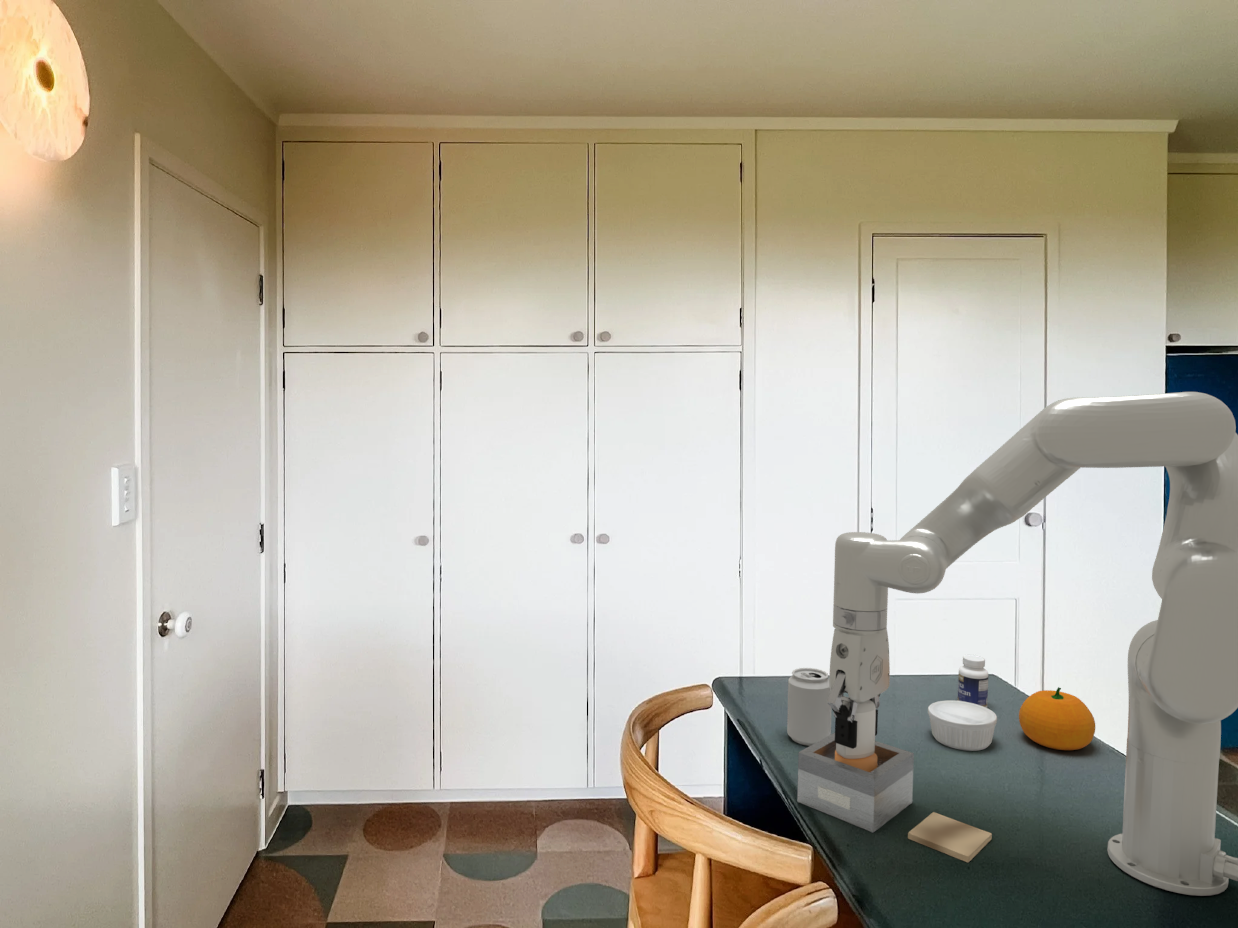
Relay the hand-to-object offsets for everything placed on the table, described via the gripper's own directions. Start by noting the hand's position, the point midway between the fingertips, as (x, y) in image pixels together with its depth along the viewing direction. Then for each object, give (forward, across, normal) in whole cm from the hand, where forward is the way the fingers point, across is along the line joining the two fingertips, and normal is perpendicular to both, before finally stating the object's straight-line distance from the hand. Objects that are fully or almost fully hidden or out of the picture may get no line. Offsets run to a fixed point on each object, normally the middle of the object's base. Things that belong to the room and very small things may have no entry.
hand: (856, 738), depth 115 cm
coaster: (+10, 0, -14) cm, 17 cm away
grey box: (+10, 0, 0) cm, 10 cm away
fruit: (+10, +45, -14) cm, 48 cm away
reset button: (+8, 0, 0) cm, 8 cm away
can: (+10, +15, +17) cm, 25 cm away
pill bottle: (+10, +52, +3) cm, 53 cm away
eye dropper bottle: (+3, 0, 0) cm, 3 cm away
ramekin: (+10, +34, -2) cm, 35 cm away
